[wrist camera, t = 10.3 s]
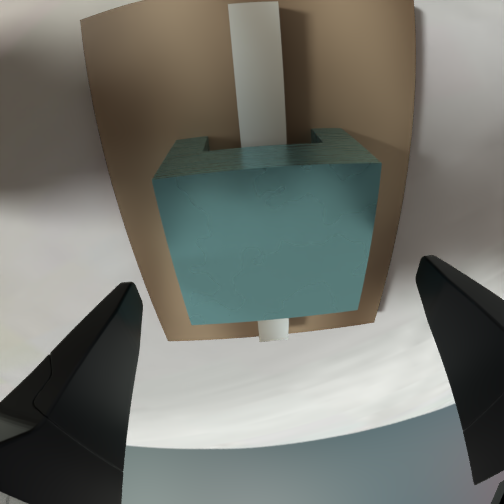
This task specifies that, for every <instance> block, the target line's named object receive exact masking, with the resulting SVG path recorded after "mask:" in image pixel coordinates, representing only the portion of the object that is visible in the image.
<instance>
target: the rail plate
mask: <svg viewBox="0 0 504 504" xmlns="http://www.w3.org/2000/svg"><path fill="white" fill-rule="evenodd" d="M80 22H81V31H82V40H83V47H84V55H85V62H86V68H87V74H88V80H89V86H90V91H91V97H92V102H93V107H94V112H95V117H96V121H97V126H98V130H99V135H100V139H101V143H102V147H103V151H104V155H105V159H106V163H107V167H108V171H109V175H110V178H111V182H112V186H113V189H114V193H115V196H116V199H117V203H118V206H119V209H120V213H121V216H122V219H123V222H124V225H125V229H126V232H127V235H128V238H129V241H130V244H131V247H132V250H133V252H134V255H135V258H136V261H137V264H138V267H139V269H140V272H141V275H142V277H143V280H144V283H145V285H146V288H147V291H148V293H149V296H150V298H151V301H152V304H153V306H154V309H155V311H156V313H157V316H158V318H159V321H160V323H161V326H162V328H163V330H164V333H165V335H166V337H167V340H168V341H190V340H211V339H229V338H243V337H256V336H259V340H260V342H265V341H276V340H286V339H288V334H289V333H298V332H307V331H316V330H324V329H332V328H340V327H347V326H354V325H361V324H367V323H374V321H375V317H376V314H377V311H378V307H379V304H380V300H381V296H382V293H383V289H384V285H385V281H386V277H387V274H388V269H389V265H390V261H391V257H392V252H393V248H394V243H395V239H396V234H397V229H398V224H399V219H400V213H401V208H402V202H403V196H404V190H405V184H406V177H407V170H408V162H409V154H410V146H411V136H412V125H413V113H414V97H415V70H416V39H415V13H414V0H143V1H139V2H135V3H131V4H128V5H124V6H121V7H117V8H114V9H111V10H108V11H105V12H102V13H99V14H96V15H93V16H90V17H88V18H85V19H82V20H80ZM311 128H342V129H343V130H344V131H345V132H347V133H348V134H349V135H350V136H351V137H353V138H354V139H355V140H356V141H357V142H359V143H360V144H361V145H362V146H363V147H364V148H365V149H367V150H368V151H369V152H370V153H371V154H372V155H373V156H375V157H376V158H377V159H378V160H379V161H380V162H381V163H382V167H381V176H380V185H379V193H378V201H377V208H376V215H375V222H374V228H373V235H372V241H371V246H370V252H369V258H368V263H367V268H366V273H365V278H364V283H363V288H362V293H361V297H360V302H359V306H358V310H354V311H346V312H339V313H330V314H322V315H313V316H304V317H294V318H284V319H274V320H262V321H250V322H237V323H222V324H205V325H191V322H190V319H189V316H188V313H187V309H186V306H185V303H184V300H183V296H182V293H181V290H180V286H179V283H178V280H177V276H176V273H175V269H174V266H173V262H172V258H171V255H170V251H169V248H168V244H167V240H166V236H165V233H164V229H163V225H162V221H161V217H160V213H159V209H158V205H157V201H156V196H155V192H154V188H153V184H152V179H153V177H154V175H155V174H156V172H157V170H158V169H159V167H160V165H161V164H162V162H163V160H164V159H165V157H166V156H167V154H168V152H169V151H170V149H171V148H172V146H173V145H174V143H175V141H176V140H180V139H188V138H195V137H203V136H208V141H209V148H210V151H212V150H221V149H231V148H242V147H254V146H267V145H283V144H304V143H311Z"/></svg>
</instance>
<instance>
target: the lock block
mask: <svg viewBox="0 0 504 504" xmlns="http://www.w3.org/2000/svg"><path fill="white" fill-rule="evenodd" d="M381 167H382V163H381V162H380V161H379V160H378V159H377V158H376V157H375V156H373V155H372V154H371V153H370V152H369V151H368V150H367V149H365V148H364V147H363V146H362V145H361V144H360V143H359V142H357V141H356V140H355V139H354V138H353V137H351V136H350V135H349V134H348V133H347V132H345V131H344V130H343V129H342V128H311V143H304V144H283V145H267V146H254V147H242V148H231V149H221V150H212V151H210V148H209V141H208V136H203V137H195V138H188V139H180V140H176V141H175V143H174V145H173V146H172V148H171V149H170V151H169V152H168V154H167V156H166V157H165V159H164V160H163V162H162V164H161V165H160V167H159V169H158V170H157V172H156V174H155V175H154V177H153V179H152V184H153V188H154V192H155V196H156V201H157V205H158V209H159V213H160V217H161V221H162V225H163V229H164V233H165V236H166V240H167V244H168V248H169V251H170V255H171V258H172V262H173V266H174V269H175V273H176V276H177V280H178V283H179V286H180V290H181V293H182V296H183V300H184V303H185V306H186V309H187V313H188V316H189V319H190V322H191V325H205V324H222V323H237V322H250V321H262V320H274V319H284V318H294V317H304V316H313V315H322V314H330V313H339V312H346V311H354V310H358V306H359V302H360V297H361V293H362V288H363V283H364V278H365V273H366V268H367V263H368V258H369V252H370V246H371V241H372V235H373V228H374V222H375V215H376V208H377V201H378V193H379V185H380V176H381Z"/></svg>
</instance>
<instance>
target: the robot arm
mask: <svg viewBox="0 0 504 504" xmlns="http://www.w3.org/2000/svg"><path fill="white" fill-rule="evenodd" d="M416 284H417V287H418V291H419V294H420V297H421V300H422V304H423V307H424V310H425V314H426V317H427V320H428V323H429V326H430V329H431V331H432V334H433V337H434V339H435V342H436V345H437V348H438V350H439V353H440V356H441V359H442V362H443V365H444V368H445V371H446V374H447V377H448V380H449V383H450V386H451V390H452V393H453V396H454V400H455V403H456V406H457V410H458V414H459V418H460V421H461V425H462V429H463V434H464V437H465V442H466V447H467V451H468V456H469V461H470V466H471V470H472V477H473V482H474V485H477V484H478V483H481V482H482V481H485V480H487V479H488V478H490V477H492V476H494V475H496V474H498V473H500V472H501V471H503V470H504V300H503V299H501V298H500V297H498V296H497V295H496V294H494V293H493V292H491V291H490V290H488V289H487V288H485V287H484V286H482V285H481V284H479V283H477V282H476V281H474V280H473V279H471V278H470V277H468V276H467V275H465V274H463V273H462V272H460V271H459V270H457V269H456V268H454V267H452V266H451V265H449V264H447V263H446V262H444V261H443V260H441V259H439V258H438V257H436V256H434V255H429V256H424V257H422V258H421V261H420V264H419V267H418V271H417V274H416ZM142 312H143V303H142V300H141V297H140V295H139V293H138V290H137V288H136V285H135V284H134V283H133V282H122V283H120V284H119V285H118V286H117V287H116V288H115V289H114V290H113V291H112V292H111V293H109V294H108V295H107V296H106V297H105V298H104V299H103V300H102V301H101V302H100V303H99V304H98V305H97V306H96V307H95V308H94V309H93V310H92V311H91V312H90V313H89V314H88V315H87V316H86V317H85V318H84V319H83V320H82V321H81V322H80V323H79V324H78V325H77V326H76V327H75V328H74V329H73V330H72V331H71V332H70V333H69V334H68V335H67V336H66V337H65V338H64V339H63V340H62V341H61V342H60V343H59V344H58V345H57V346H56V347H55V348H54V350H53V351H52V352H51V353H50V354H49V355H48V356H47V357H46V358H45V359H44V360H43V361H42V362H41V363H40V364H39V365H38V366H37V367H36V368H35V369H34V370H33V371H32V373H30V374H29V375H28V376H27V377H26V378H25V379H24V380H23V381H22V382H21V383H20V384H19V385H18V386H17V387H16V388H15V389H14V390H13V391H12V392H11V393H9V394H8V395H7V396H6V397H5V398H4V399H3V400H2V401H1V402H0V504H121V499H122V483H123V472H122V471H123V469H124V457H125V447H126V438H127V430H128V422H129V414H130V407H131V400H132V393H133V386H134V380H135V374H136V368H137V362H138V356H139V349H140V337H141V323H142ZM491 504H504V480H503V481H502V482H500V483H499V486H498V488H497V491H496V493H495V495H494V498H493V500H492V502H491Z"/></svg>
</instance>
